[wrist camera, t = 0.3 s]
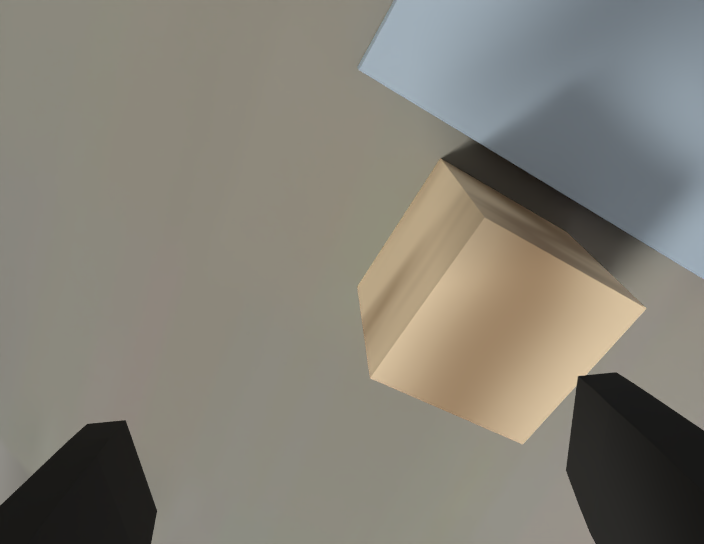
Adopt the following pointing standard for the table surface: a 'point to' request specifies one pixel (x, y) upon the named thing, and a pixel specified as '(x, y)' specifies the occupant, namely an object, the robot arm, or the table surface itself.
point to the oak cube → (487, 307)
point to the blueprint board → (569, 99)
